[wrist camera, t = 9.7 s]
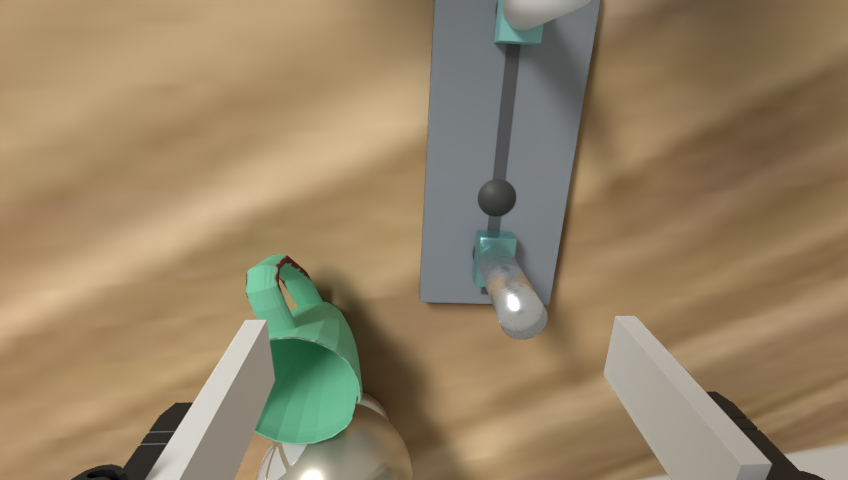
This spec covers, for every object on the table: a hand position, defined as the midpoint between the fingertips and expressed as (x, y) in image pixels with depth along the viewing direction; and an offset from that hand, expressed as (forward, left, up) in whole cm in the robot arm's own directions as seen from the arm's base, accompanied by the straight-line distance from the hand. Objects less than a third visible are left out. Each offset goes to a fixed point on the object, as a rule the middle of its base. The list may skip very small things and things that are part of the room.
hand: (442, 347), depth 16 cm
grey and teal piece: (-4, +6, -22) cm, 24 cm away
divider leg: (+4, +6, -20) cm, 22 cm away
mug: (+10, -10, -23) cm, 27 cm away
